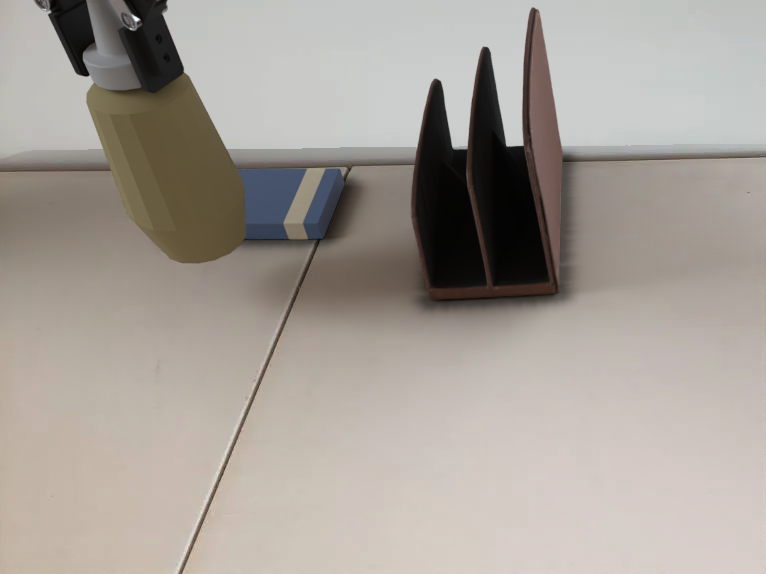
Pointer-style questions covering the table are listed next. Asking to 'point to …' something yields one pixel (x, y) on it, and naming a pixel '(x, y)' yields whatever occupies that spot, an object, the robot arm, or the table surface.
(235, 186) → the squeeze bottle
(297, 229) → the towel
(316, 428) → the table surface
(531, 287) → the letter holder
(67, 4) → the robot arm
